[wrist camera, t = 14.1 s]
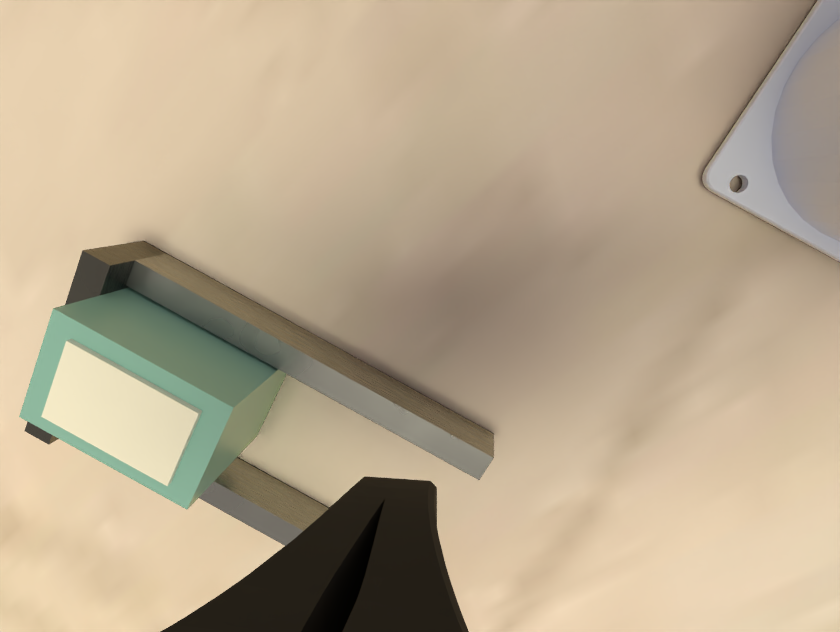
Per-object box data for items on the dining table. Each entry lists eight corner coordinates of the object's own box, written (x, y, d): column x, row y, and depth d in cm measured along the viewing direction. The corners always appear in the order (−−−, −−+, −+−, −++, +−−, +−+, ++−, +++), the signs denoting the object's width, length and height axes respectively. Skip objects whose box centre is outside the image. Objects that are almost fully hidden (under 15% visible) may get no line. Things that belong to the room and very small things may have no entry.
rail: (493, 433, 19) (493, 476, 17) (404, 572, 21) (390, 632, 19) (143, 240, 19) (82, 250, 17) (87, 398, 22) (24, 431, 19)
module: (296, 354, 20) (230, 410, 15) (257, 435, 21) (183, 513, 16) (159, 278, 20) (47, 309, 15) (127, 363, 21) (13, 419, 16)
